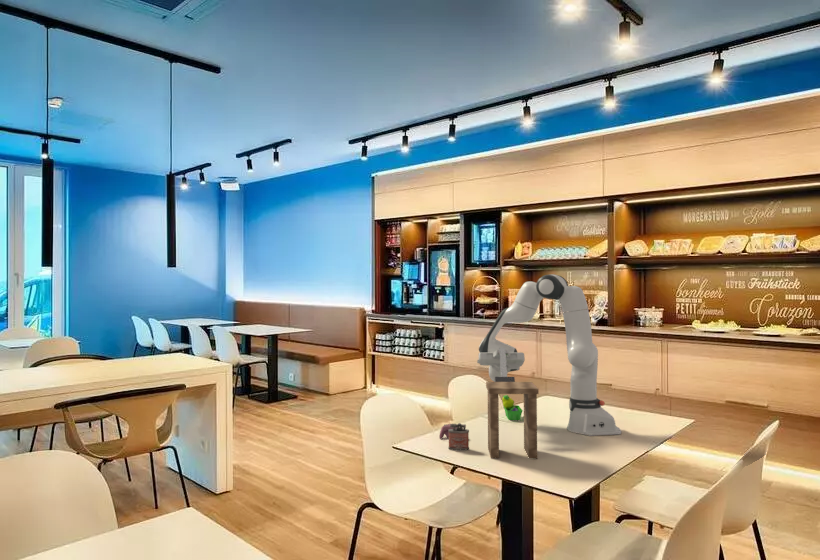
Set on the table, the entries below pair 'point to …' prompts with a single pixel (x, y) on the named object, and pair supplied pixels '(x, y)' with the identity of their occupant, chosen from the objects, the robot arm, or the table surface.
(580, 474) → the table surface
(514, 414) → the fruit basket
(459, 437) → the lighter
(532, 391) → the walnut shelf
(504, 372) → the steel t handle
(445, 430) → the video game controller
